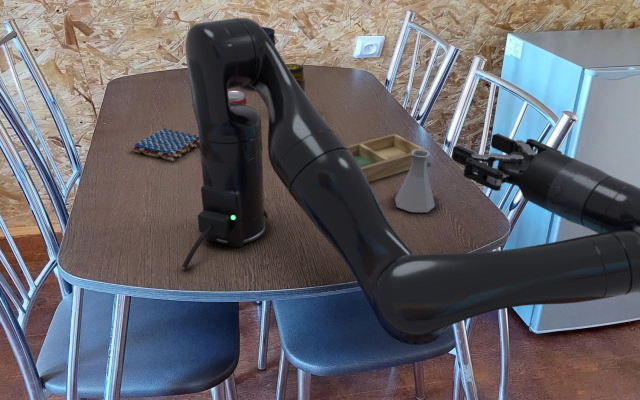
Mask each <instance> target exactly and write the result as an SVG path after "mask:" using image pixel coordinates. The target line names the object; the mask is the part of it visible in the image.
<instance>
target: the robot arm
mask: <svg viewBox="0 0 640 400" xmlns="http://www.w3.org/2000/svg"><path fill="white" fill-rule="evenodd" d="M262 27H263V26H261V25H260V24H259V23H258V22H256V21H255V20H253V19H251V18H247V17H235V18H234V17H233V18H227V19H220V20H219V19H218V20H213V21H212V20H211V21H205V22H200V23H199V22H198V23H196V24H193V25H192V26H191V27H190V28H189V29H188V31H187V34H186V37H185V45H184V46H185V47H184V48H185V60H186V68H187V74H188V80H189V85H190V93H191V101H192V107H193V113H194V117H195V120H196V124H197V129H198V130H197V131H198V137H199V142H200V143H199V152H200V162H201V173H202V183H203V185H202V186H201V187H200V193H201V202H202V211H200V213H198V214H197V222H198V223H197V224H198V231H199V233H201V235H200V236H199V237H198V238H197V240H196V242H195V243H194V244H193V246H192V247H191V249H190V250H189V252H188V254H187V256H186V258H185V260H184V261H183V264H182V265H181V267H182V268H184V269H187V268H188V266H189V264H190V262H191V261H192V258H193V257H194V255H195V254H196V252H197V250H198V248H199V247H200V246H201V244H202V243H203V241H204V240H206V241H210V242H214V243H219V244H221V245H222V244H223V245H226V246H231V247H235V248H242V246H243V245H245V244H249V243H252V242H254V241H257V240H259V239H260V238H261V237H262V236H263V235H264V234H265V232H266V221H265V220H266V219H268V213H267V211H266V210H265V199H264V198H265V197H264V169H263V167H264V166H263V142H262V141H263V137H262V136H263V135H262V117H261V114H260V113H259V111H258V110H256V109H255V108H253V107H251V106H249V105H247V106H246V105H242V104H237V103H230V102H229V97H228V92H229V89H230V90H231V89H235V88H240V87H242V86H245V85H250V86H251V87H253V88H254V89H255V90H254V91H255V92H256V93H258V95H259V96H260V98H261V100H262V101H263V104H264V105H265V106H266V109H267V113H268V131H267V154H268V159H269V162H270V165H271V167H272V169H273V171H274V173H275V174H276V175H277V178H279V180H280V181H281V183H282V184H283V185H284V187H285V188H286V190H287V191H288V193H289V195H290V196H291V197H292V198H293V199H294V201H295V202H296V203H297V205H298V206H299V207H300V208H301V210H302V211H303V213H304V214H305V215H306V216H307V217H308V219H309V220H310V221H311V223H312V224H313V225H314V226H315V227H316V229H317V231H319V232H320V233H321V235H322V236H323V237H324V238H325V239H326V240H327V242H328V243H329V244H330V245H331V246H332V247H333V249H334V250H335V251H336V252H337V254H339V256H340V257H341V259H342V260H343V261H344V263H345V264H346V266H347V267H348V268H349V270H350V272H351V274H352V276H353V277H354V278H355V280H356V281H357V284H358V285H359V287H360V289H361V291H362V292H363V294H364V296H365V298H366V300H367V302H368V303H369V306H370V307H371V310H372V311H373V313H374V315H375V317H376V319H377V321H378V323H379V325H380V327H381V328H382V329H383V331H385V332H386V334H388V335H389V336H390V337H391V338H392V339H394V340H396V341H398V342H400V343H402V344H406V345H410V346H424V345H428V344H431V343H433V342H435V341H437V340H438V339H439V338H441V337H442V336H443V335H444V334H445V333H446V331H448V329H449V327H450V326H452V325H455V324H458V323H460V322H463V321H466V320H469V319H471V318H472V319H473V318H474V317H477V316H480V315H483V314H487V313H492V312H496V311H499V310H505V309H509V308H516V307H524V306H525V307H526V306H536V305H537V306H539V305H540V306H541V305H565V304H578V303H584V302H591V301H598V300H605V299H608V298H614V297H619V296H626V295H630V294H640V187H638V186H636V185H634V184H632V183H629V182H628V181H627V182H626V181H624V180H622V179H620V178H617V177H615V176H612V175H610V174H608V173H606V172H605V171H603V170H601V169H600V168H597V167H596V166H593V165H591V164H588V163H585V162H583V161H581V160H578V159H576V158H573V157H571V156H569V155H565V154H563V152H562V151H560V150H558V149H556V148H555V147H551V146H549V145H547V144H544V143H542V142H540V141H538V140H536V139H533V138H527V139H526V142H525V141H524V140H521V139H516V140H515V139H513V138H510V137H508V136H505V135H502V134H500V133H495V134H494V133H493V134H492V137H491V142H490V146H491V148H493V149H494V150H496V151H499V152H502V153H504V154H502V153H496V152H490V153H489V154H488V155H486V154H480V153H476V152H474V151H472V150H469V149H468V148H465V147H464V146H461V145H459V144H457V145H455V146H453V147H452V152H451V159H452V160H453V161H454V162H456V163H458V164H460V165H463V166H464V170H463V177H464V178H467V179H469V180H471V181H473V182H474V183H478V184H479V185H481V186H484V187H486V188H488V189H490V190H492V191H496V192H498V191H501V189H502V185H503V184H505V183H506V184H508V185H512V186H517V187H518V188H519V190H520V193H521V196H522V197H523V198H524V200H526V201H528V202H530V203H532V204H533V205H536V206H538V207H540V208H541V209H543V210H546V211H548V212H549V213H551V214H554V215H556V216H558V217H559V218H561V219H564V220H566V221H568V222H570V223H573V224H576V225H578V226H582V227H584V228H586V229H588V230H590V231H592V232H594V234H589V235H583V236H578V237H573V238H567V239H562V240H557V241H551V242H546V243H540V244H536V245H535V244H534V245H529V246H523V247H522V246H521V247H517V248H509V249H501V250H489V251H488V250H487V251H475V252H442V253H441V252H440V253H439V252H437V253H436V252H435V253H414V252H413V251H412V250H411V248H410V247H408V245H407V244H406V243H405V242H404V241H403V239H402V238H401V237H400V236H399V234H398V233H397V232H396V231H395V229H394V227H393V226H392V225H391V223H390V221H389V220H388V218H387V216H386V214H385V212H384V210H383V208H382V206H381V204H380V202H379V200H378V198H377V196H376V194H375V192H374V189H373V188H372V186H371V184H370V182H368V180H367V178H366V176H365V174H364V172H363V171H362V169H361V167H360V165H359V164H358V162H357V161H356V159H355V158H354V156H353V155H352V153H351V152H350V151H349V149H348V148H347V147H346V146H347V145H346V144H345V143H344V142H343V140H342V139H341V137H340V136H339V134H338V133H336V131H335V130H334V129H333V127H331V125H330V124H329V123H328V122H327V120H326V119H325V118H324V116H323V115H321V113H320V112H319V111H318V108H316V106H315V105H314V104H313V102H312V101H311V100H310V98H309V96H307V94H306V92H305V93H304V91H303V90H302V89H301V87H300V86H299V84H298V83H297V81H296V80H295V78H294V77H293V75H292V74H291V72H290V70H289V69H288V67H287V65H286V62H285V61H284V59H283V57H282V56H281V54H280V52H279V50H278V49H277V47H276V45H275V46H274V44H273V43H272V41H271V39H270V38H269V37H268V35H267V34H266V32H265V31H264V30H263V29H262ZM534 148H535V149H537V150H536V151H535V150H534ZM496 161H498V162H497V167H494V163H495V162H496ZM483 162H484V163H483ZM485 163H487V164H485ZM265 218H266V219H265Z"/></svg>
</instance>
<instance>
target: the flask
mask: <svg viewBox="0 0 640 400" xmlns="http://www.w3.org/2000/svg"><path fill="white" fill-rule="evenodd" d="M426 150H427V149H426ZM426 150H423V149H414V150H413V151H411V155H412V163H411V166H410V170H408V172H407V174H406V177H405V179H404V180H403V183H402V185H401V187H400V188H399V190H398V192H397V194H396V196H395V198H394V201H395V206H396V208H398V209H401V210H404V211H406V212H410V213H429V212H430V211H431V210H433V209H434V208H435V207H436V203H435V201H434V200H435V199H434V195H433V192H432V188H431V184H430V179H429V175H428V174H429V173H428V160H429V158H430V157H431V154H430V153H431V152H430V151H429V150H427V151H426Z"/></svg>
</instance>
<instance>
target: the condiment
mask: <svg viewBox="0 0 640 400" xmlns="http://www.w3.org/2000/svg"><path fill="white" fill-rule="evenodd" d="M285 64H286V63H285ZM286 65H287V67H288V69H289V70H290V72H291V74H292V75H293V77H294V78H295V80H296V81H297V83H298V84H299V86H300V87H301V89H302V90H303V91H304V93H305V94H306V89H305V88H306V83H305V82H306V79H305V76H304V67H303V66H302V65H301V64H296V63H287V64H286Z"/></svg>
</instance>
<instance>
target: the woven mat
mask: <svg viewBox="0 0 640 400" xmlns="http://www.w3.org/2000/svg"><path fill="white" fill-rule="evenodd" d="M198 145H200V142H199V136H197V135H196V134H193V135H191V133H185V132H182V131H181V132H179V131H178V130H175V131H173V129H169V130H168V129H167V128H163V129H161V130H157V132H154V133H153V134H151V135H148V136H147V137H144V138H143V139H142V140H139V141H137V142H135V143H134V146H133V148H132V149H133V152H134V153H138V154H140V153H142V154H144V155H146V156H149V157H153V158H162V159H163V160H166V161H170V162H174V161H175V159H176V158H177V157H178V158H182V154H186V153H187V152H190V151H191V148H195V149H197V147H198Z"/></svg>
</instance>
